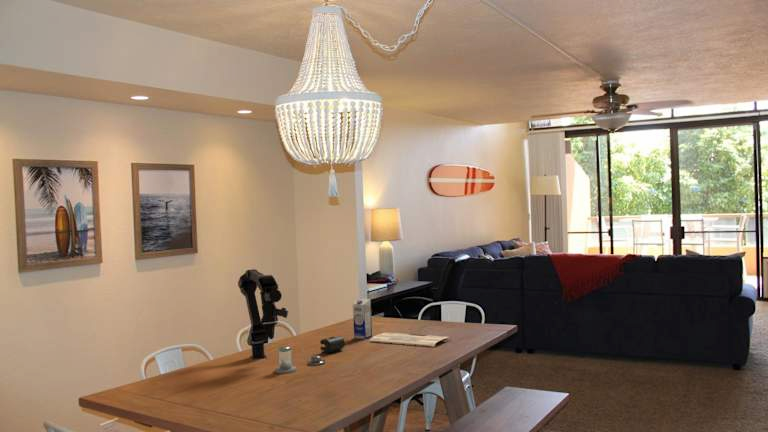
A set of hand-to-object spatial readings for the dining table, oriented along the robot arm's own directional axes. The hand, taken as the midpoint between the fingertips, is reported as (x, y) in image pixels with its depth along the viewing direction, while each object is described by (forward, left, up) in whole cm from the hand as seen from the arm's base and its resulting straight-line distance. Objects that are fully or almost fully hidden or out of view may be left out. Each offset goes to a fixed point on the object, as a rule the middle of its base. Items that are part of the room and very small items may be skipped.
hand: (271, 338), depth 300 cm
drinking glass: (+14, +3, -11) cm, 18 cm away
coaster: (+14, +3, -12) cm, 19 cm away
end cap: (-11, +31, -12) cm, 35 cm away
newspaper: (-12, +71, -12) cm, 73 cm away
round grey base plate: (+8, +18, -12) cm, 23 cm away
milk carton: (-34, +54, -12) cm, 65 cm away
